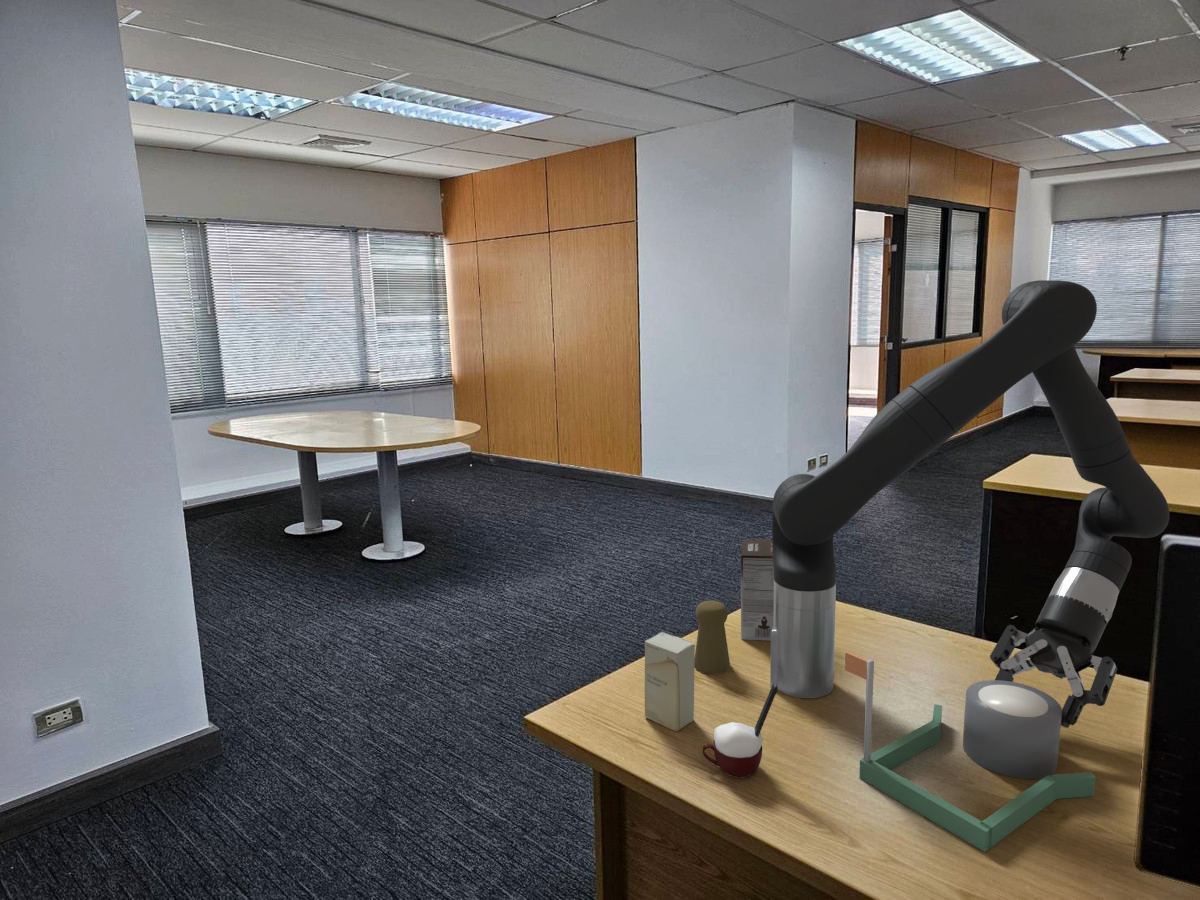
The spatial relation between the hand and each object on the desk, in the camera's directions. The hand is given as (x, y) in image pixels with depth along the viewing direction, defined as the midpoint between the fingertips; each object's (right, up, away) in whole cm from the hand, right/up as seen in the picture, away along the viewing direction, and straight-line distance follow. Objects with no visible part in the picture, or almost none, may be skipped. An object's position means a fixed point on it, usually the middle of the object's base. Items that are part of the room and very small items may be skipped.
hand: (1029, 710), depth 102 cm
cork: (-39, -1, +25) cm, 46 cm away
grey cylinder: (-4, -5, -2) cm, 6 cm away
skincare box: (-47, -5, +10) cm, 48 cm away
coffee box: (-28, +2, +38) cm, 48 cm away
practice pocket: (-12, -6, -7) cm, 15 cm away
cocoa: (-39, -7, -3) cm, 40 cm away
